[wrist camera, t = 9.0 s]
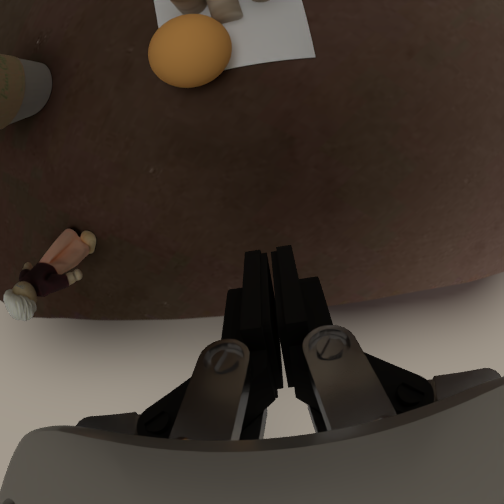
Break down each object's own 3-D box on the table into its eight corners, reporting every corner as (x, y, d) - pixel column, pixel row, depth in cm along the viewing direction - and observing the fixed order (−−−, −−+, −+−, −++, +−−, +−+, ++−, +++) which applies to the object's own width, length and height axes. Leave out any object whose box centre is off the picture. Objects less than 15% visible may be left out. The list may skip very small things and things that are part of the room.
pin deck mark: (290, -35, 14) (290, -36, 13) (314, 57, 18) (315, 57, 18) (153, -8, 15) (152, -9, 15) (170, 83, 20) (169, 83, 19)
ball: (180, -8, 11) (217, 62, 13) (227, 7, 15) (258, 65, 18) (121, 43, 14) (149, 107, 16) (172, 43, 19) (198, 97, 21)
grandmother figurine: (97, 220, 26) (24, 294, 14) (108, 253, 27) (47, 334, 16) (49, 229, 26) (-21, 293, 15) (60, 258, 28) (-1, 328, 17)
